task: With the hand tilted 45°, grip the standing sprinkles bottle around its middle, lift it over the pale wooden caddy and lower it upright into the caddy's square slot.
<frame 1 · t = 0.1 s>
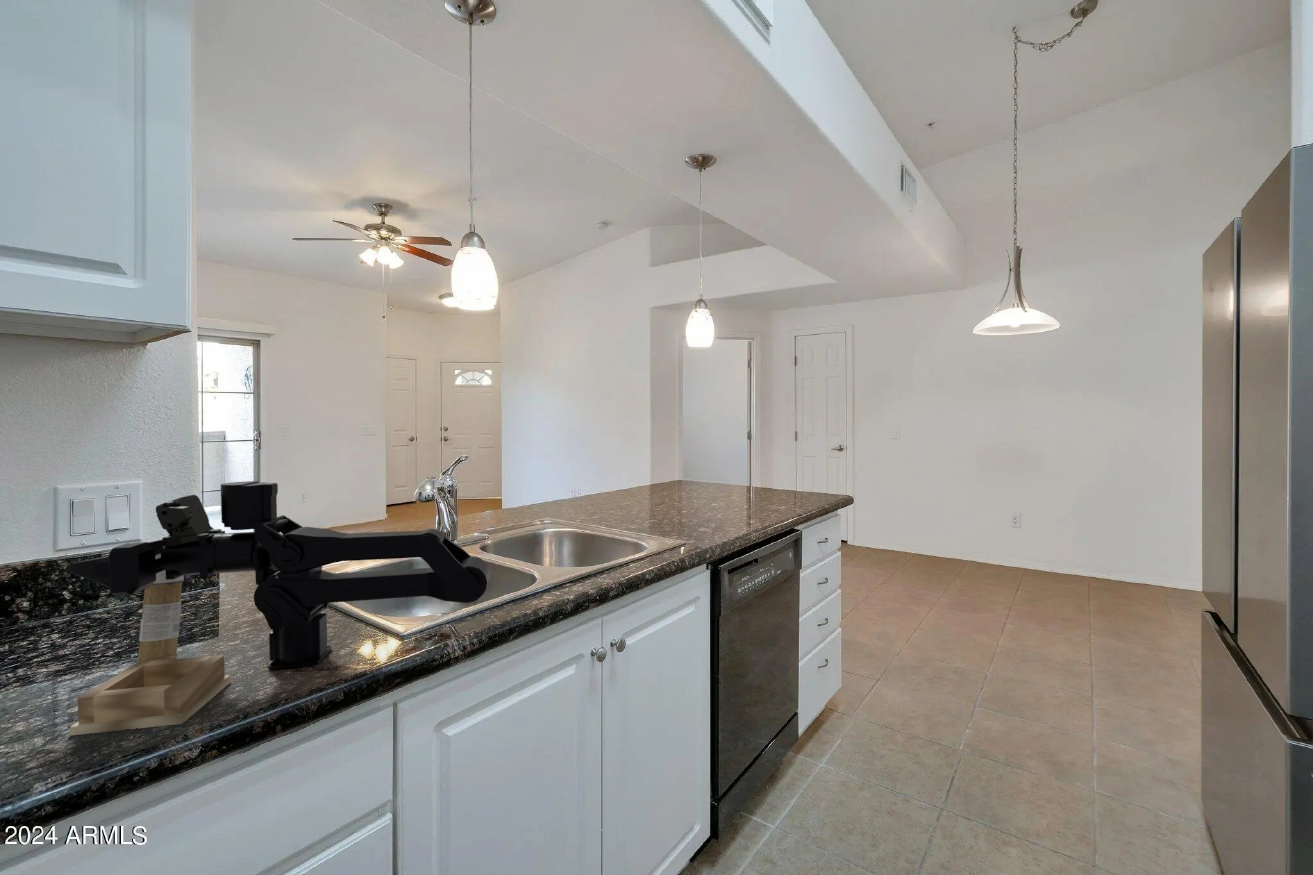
hand: (97, 559, 78), 17 cm above the worktop, tool horizontal, fingers open, 9 cm apart
sprinkles bottle: (157, 663, 82), on the worktop
caddy: (158, 706, 70), on the worktop
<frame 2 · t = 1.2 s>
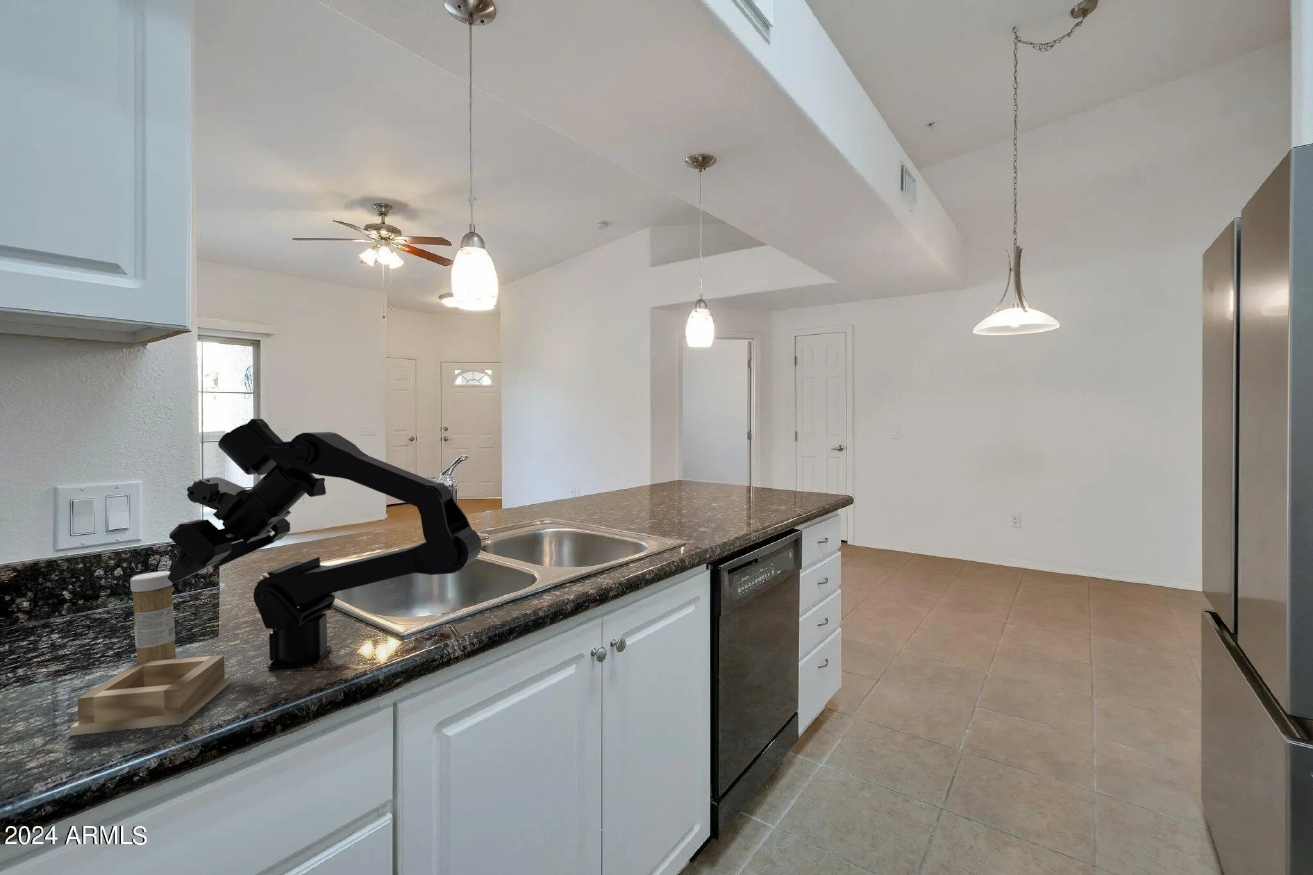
hand: (195, 571, 83), 14 cm above the worktop, tool tilted 45°, fingers open, 9 cm apart
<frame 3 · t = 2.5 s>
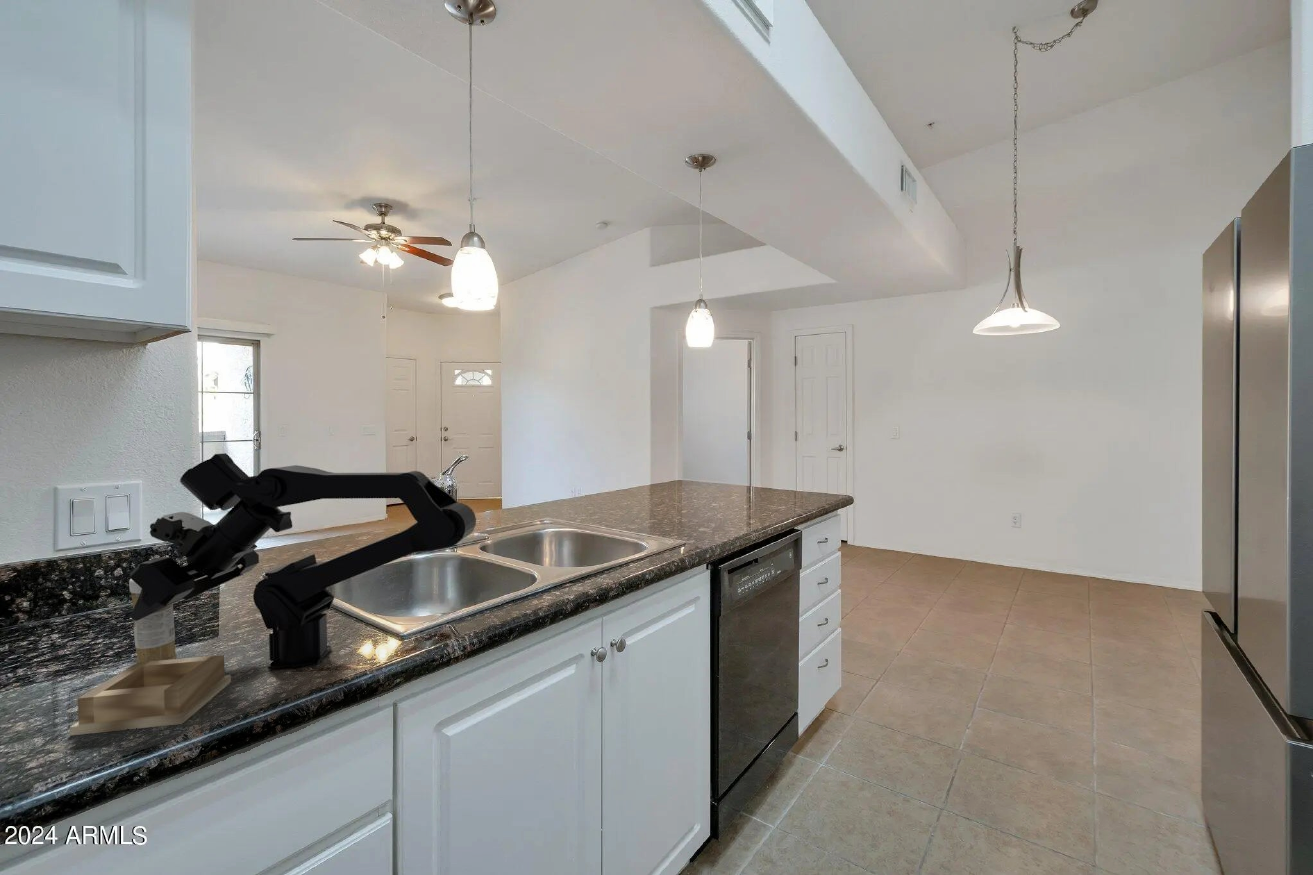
hand: (160, 607, 82), 8 cm above the worktop, tool tilted 45°, fingers open, 9 cm apart
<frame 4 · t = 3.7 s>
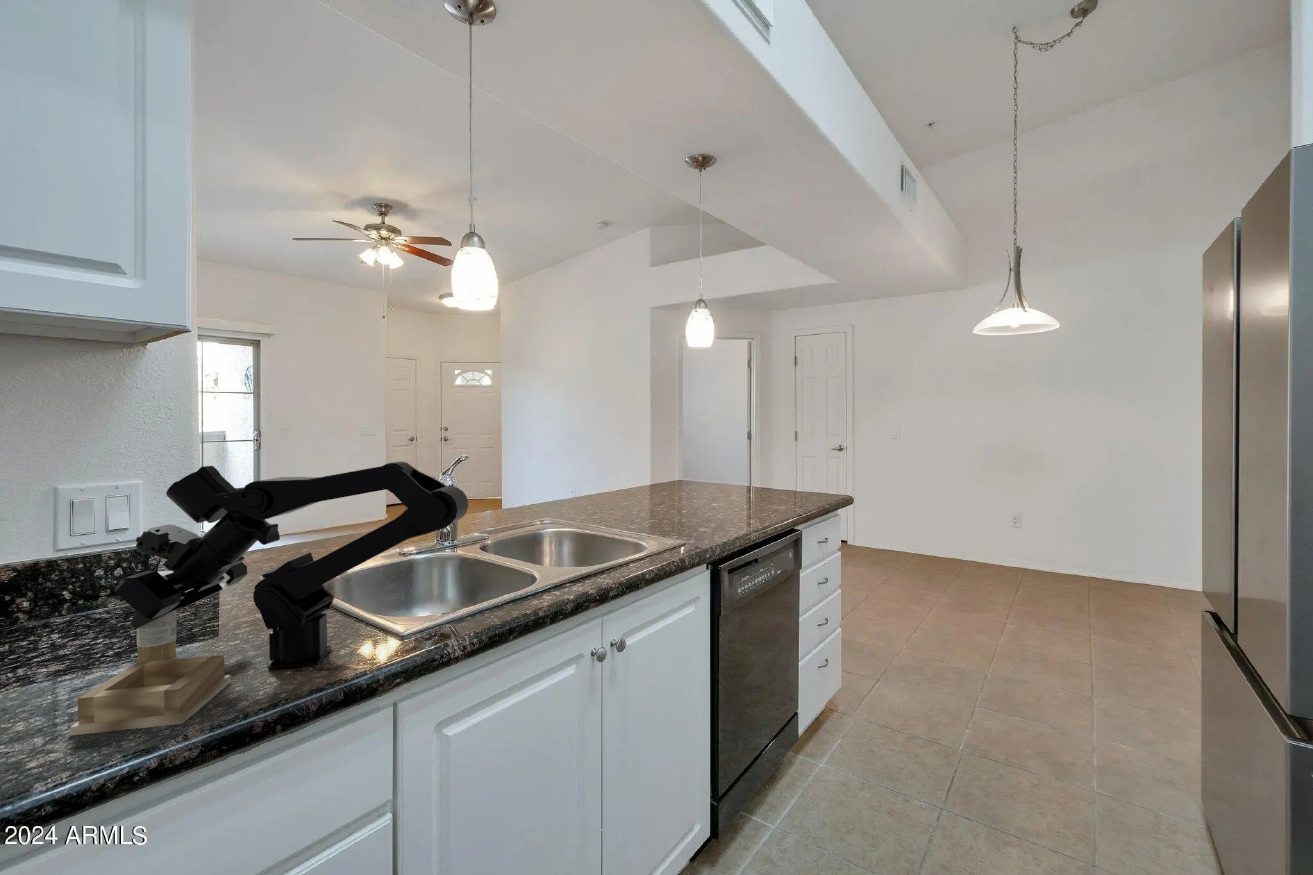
hand: (147, 620, 82), 7 cm above the worktop, tool tilted 45°, fingers closed on sprinkles bottle, 4 cm apart
sprinkles bottle: (157, 666, 82), on the worktop, touching gripper
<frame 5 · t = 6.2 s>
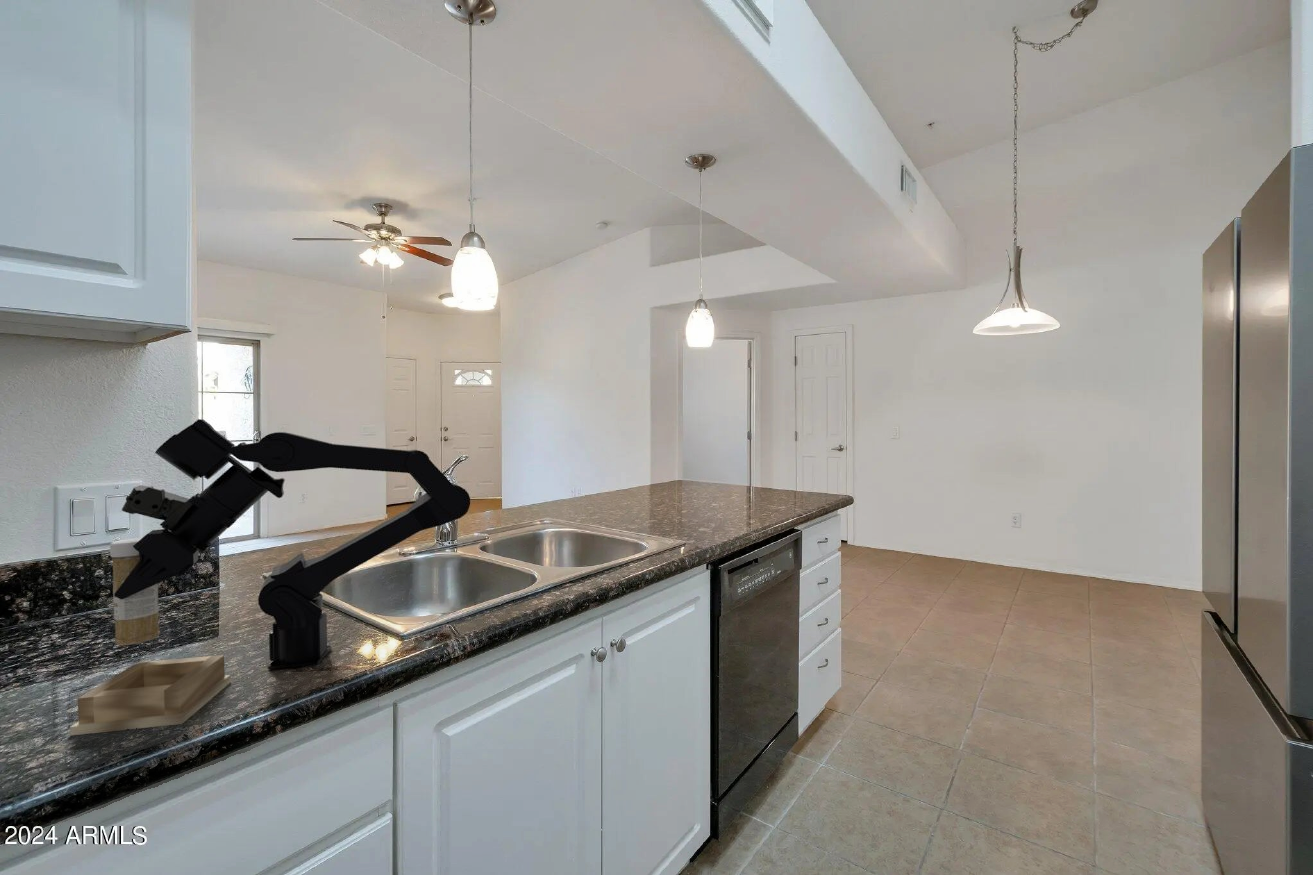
hand: (122, 592, 74), 13 cm above the worktop, tool tilted 45°, fingers closed on sprinkles bottle, 4 cm apart
sprinkles bottle: (138, 641, 74), point 7 cm above the worktop, touching gripper
when the fingers open (8 cm above the worktop, at t = 8.5 s): sprinkles bottle stays where it is, resting on caddy.
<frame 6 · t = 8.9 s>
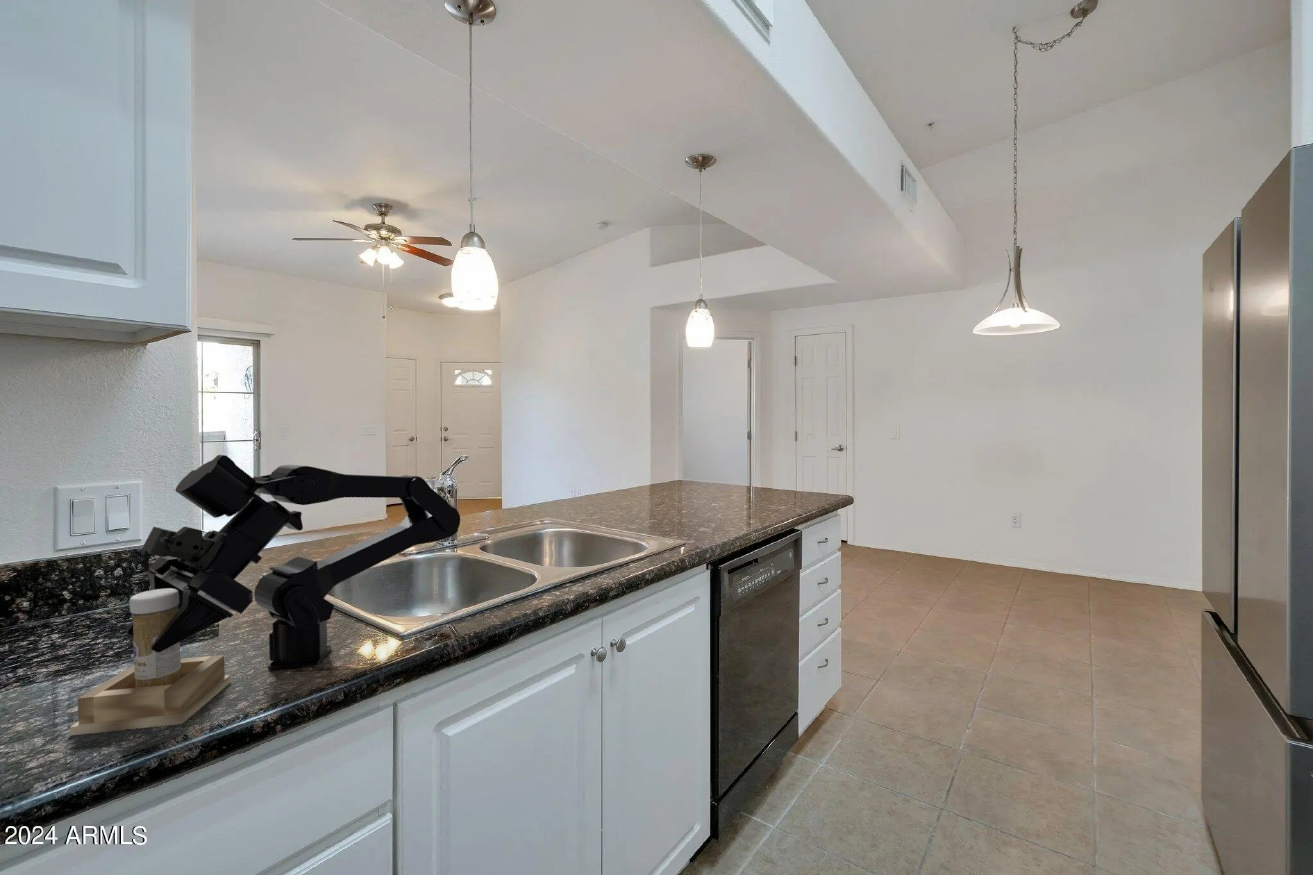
hand: (141, 642, 69), 9 cm above the worktop, tool tilted 45°, fingers open, 9 cm apart
sprinkles bottle: (159, 699, 70), point 1 cm above the worktop, touching caddy
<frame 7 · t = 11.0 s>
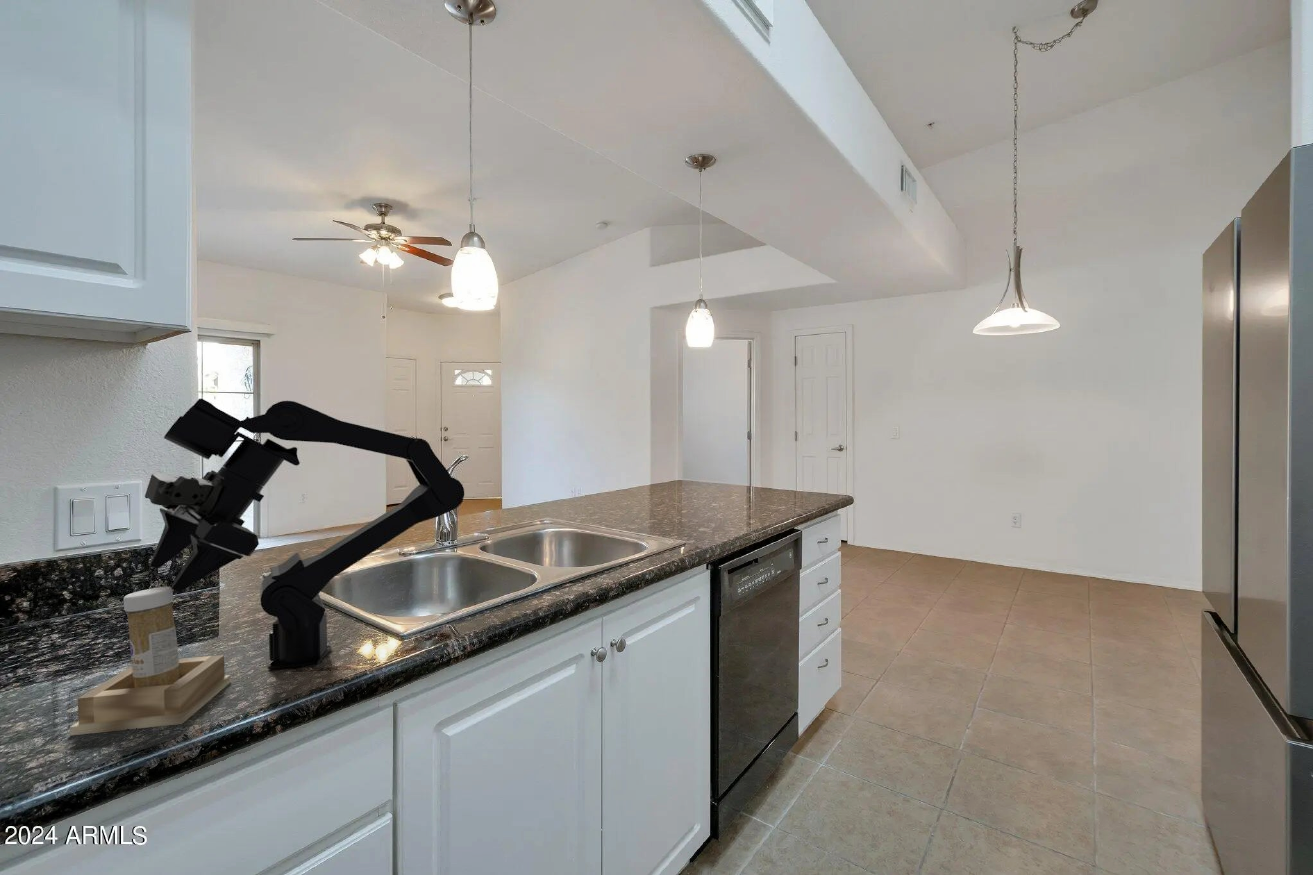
hand: (164, 578, 74), 15 cm above the worktop, tool tilted 35°, fingers open, 9 cm apart
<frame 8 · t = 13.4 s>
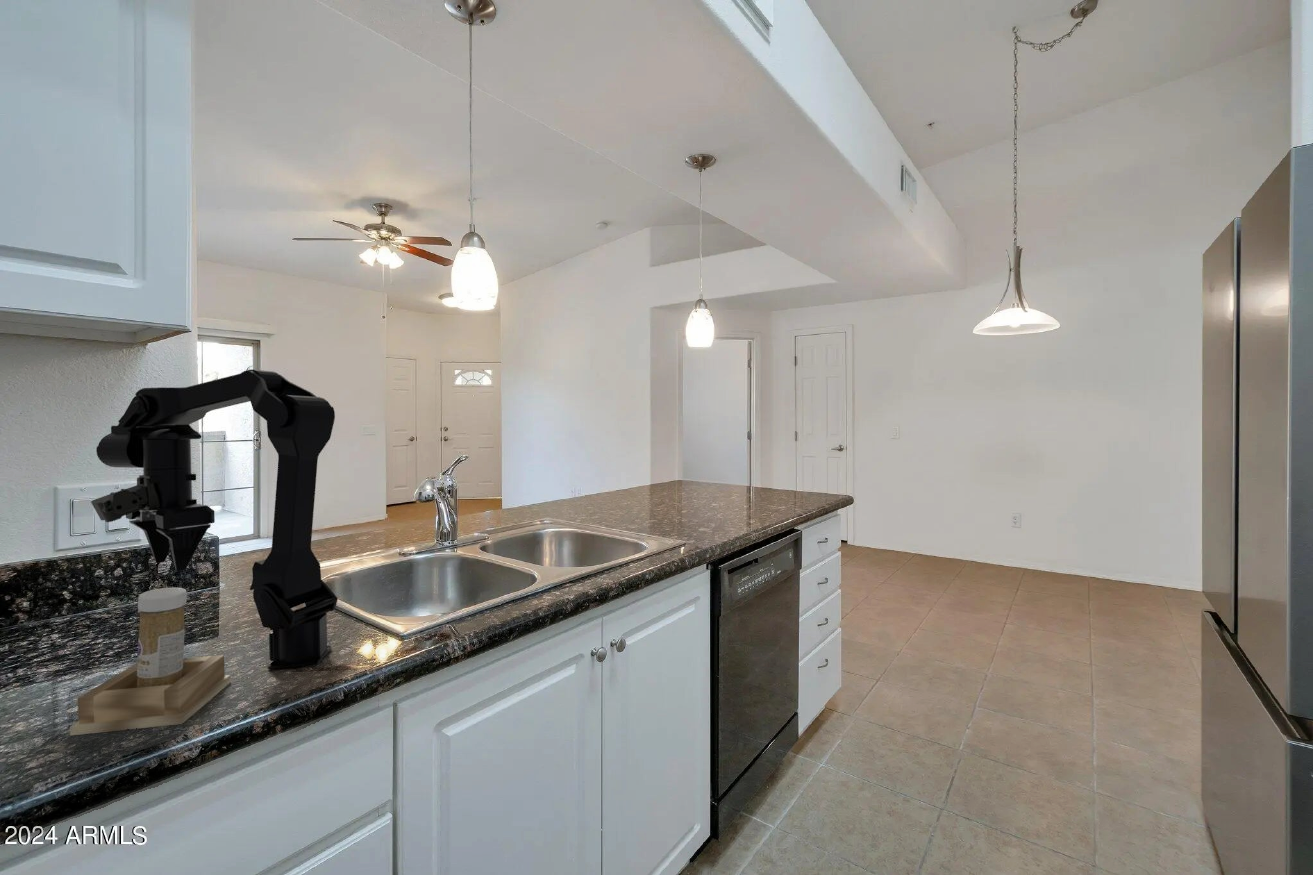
hand: (170, 566, 89), 13 cm above the worktop, tool pointing down, fingers open, 9 cm apart
at the end: sprinkles bottle 0.3 cm off-centre on the caddy, point 0.9 cm above the caddy's base; sprinkles bottle tilted 3°; the gripper is holding nothing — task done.
